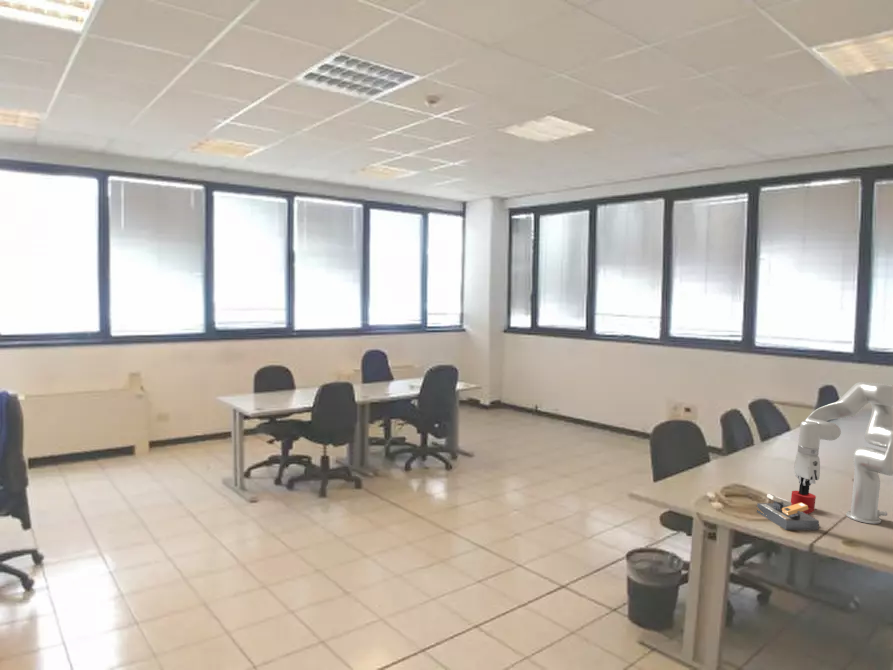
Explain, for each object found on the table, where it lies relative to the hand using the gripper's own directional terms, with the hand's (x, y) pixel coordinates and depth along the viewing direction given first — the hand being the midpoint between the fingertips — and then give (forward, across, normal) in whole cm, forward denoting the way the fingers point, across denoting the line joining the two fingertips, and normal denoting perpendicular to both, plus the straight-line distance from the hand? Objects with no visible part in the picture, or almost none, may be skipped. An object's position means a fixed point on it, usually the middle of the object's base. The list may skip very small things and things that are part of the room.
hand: (803, 493), depth 253 cm
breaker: (+7, +11, +3) cm, 13 cm away
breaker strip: (+14, +5, +3) cm, 15 cm away
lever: (+13, +17, -12) cm, 25 cm away
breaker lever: (+7, 0, +3) cm, 8 cm away
